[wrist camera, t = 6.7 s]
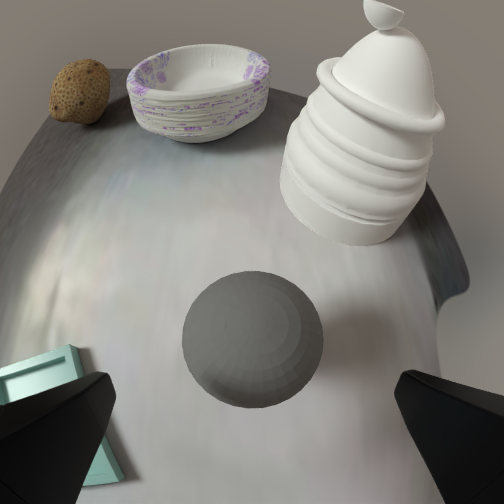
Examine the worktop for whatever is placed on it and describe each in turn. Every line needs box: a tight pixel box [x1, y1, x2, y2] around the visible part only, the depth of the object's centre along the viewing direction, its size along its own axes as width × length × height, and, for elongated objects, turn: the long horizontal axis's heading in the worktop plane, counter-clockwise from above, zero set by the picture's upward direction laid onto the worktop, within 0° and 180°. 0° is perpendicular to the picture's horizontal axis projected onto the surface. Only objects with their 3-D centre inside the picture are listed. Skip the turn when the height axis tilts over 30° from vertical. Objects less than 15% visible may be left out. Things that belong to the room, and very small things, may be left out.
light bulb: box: [182, 271, 323, 408], centre depth 13 cm, size 6×6×10 cm
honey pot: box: [280, 0, 445, 246], centre depth 18 cm, size 13×13×18 cm
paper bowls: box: [127, 44, 271, 143], centre depth 27 cm, size 15×15×8 cm
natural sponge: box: [49, 59, 110, 124], centre depth 26 cm, size 9×9×10 cm
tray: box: [0, 344, 125, 486], centre depth 13 cm, size 10×10×1 cm
